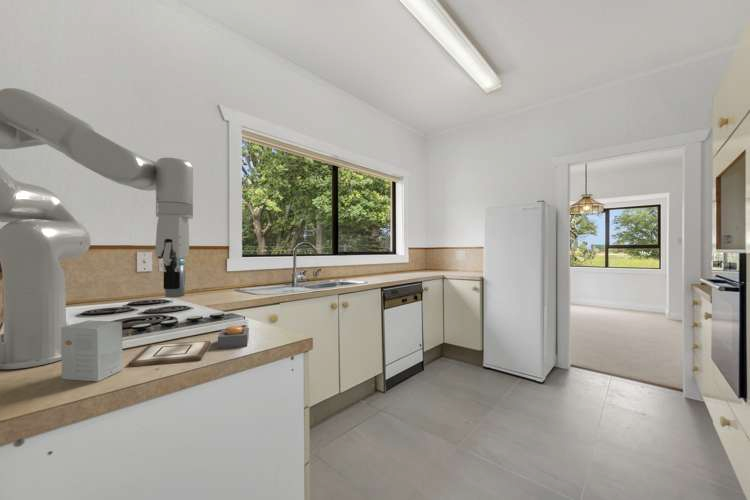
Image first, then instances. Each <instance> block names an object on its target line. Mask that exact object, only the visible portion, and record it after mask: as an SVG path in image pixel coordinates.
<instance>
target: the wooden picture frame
mask: <svg viewBox="0 0 750 500" xmlns="http://www.w3.org/2000/svg"><path fill="white" fill-rule="evenodd" d="M210 345H211V340H203V341H187V342H186V341H185V342H173V343H159V344H157V343H156V344H148V345H147V346H146V347H145V348H143V350H141V351H140V352H139V353H138V354H137V355H136V356H135V357H134V358H132V359H131V360H130V361H129V362H128V367H139V366H150V365H161V364H163V365H164V364H172V363H173V364H174V363H175V364H176V363H183V362H184V363H185V362H195V361H196V362H197V361H202V359H203V357H204V355H205V353H206V352H207V350H208V349H209V346H210Z"/></svg>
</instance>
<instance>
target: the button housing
mask: <svg viewBox="0 0 750 500" xmlns="http://www.w3.org/2000/svg"><path fill="white" fill-rule="evenodd" d="M249 331H250V328H249V327H242V334H236V335H226V328H223V329H221V330H220V332H219V335H218V337H217V349H229V348H241V347H242V348H243V347H248V343H249V338H250V337H249V336H250V333H249Z"/></svg>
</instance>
